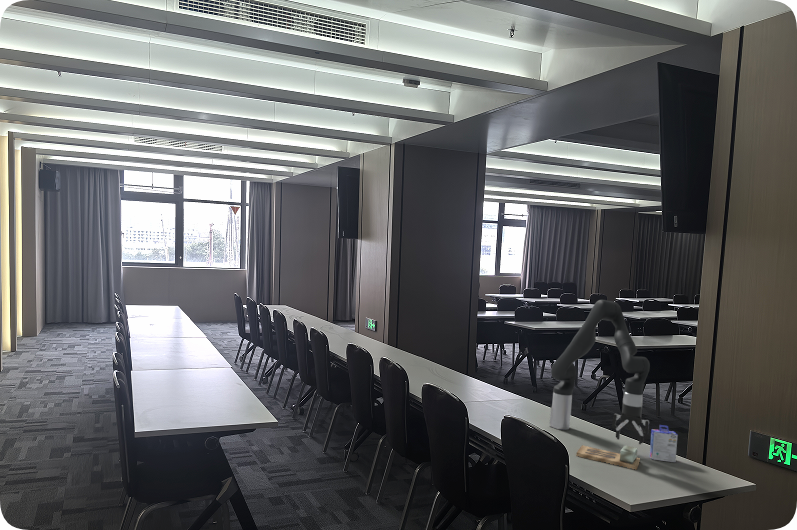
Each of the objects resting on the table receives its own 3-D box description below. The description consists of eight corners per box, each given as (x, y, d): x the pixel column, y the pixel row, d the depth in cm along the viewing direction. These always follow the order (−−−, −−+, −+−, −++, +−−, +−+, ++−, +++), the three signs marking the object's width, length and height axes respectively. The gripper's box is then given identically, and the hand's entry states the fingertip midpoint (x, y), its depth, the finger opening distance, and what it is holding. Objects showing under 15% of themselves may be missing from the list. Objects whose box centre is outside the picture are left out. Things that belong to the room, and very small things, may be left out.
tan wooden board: (576, 455, 237) (576, 452, 236) (581, 448, 247) (582, 445, 247) (636, 470, 225) (636, 466, 225) (639, 461, 235) (640, 458, 235)
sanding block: (619, 461, 230) (620, 450, 230) (624, 455, 237) (625, 445, 237) (632, 464, 227) (633, 453, 227) (636, 458, 234) (637, 448, 234)
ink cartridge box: (672, 458, 243) (675, 426, 242) (676, 463, 237) (679, 429, 237) (648, 455, 244) (651, 423, 244) (651, 459, 239) (654, 426, 239)
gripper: (651, 405, 231) (648, 443, 232) (615, 398, 238) (612, 435, 239) (650, 409, 225) (646, 448, 225) (613, 401, 232) (609, 439, 232)
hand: (628, 441), depth 232 cm, fingers open, 8 cm apart
